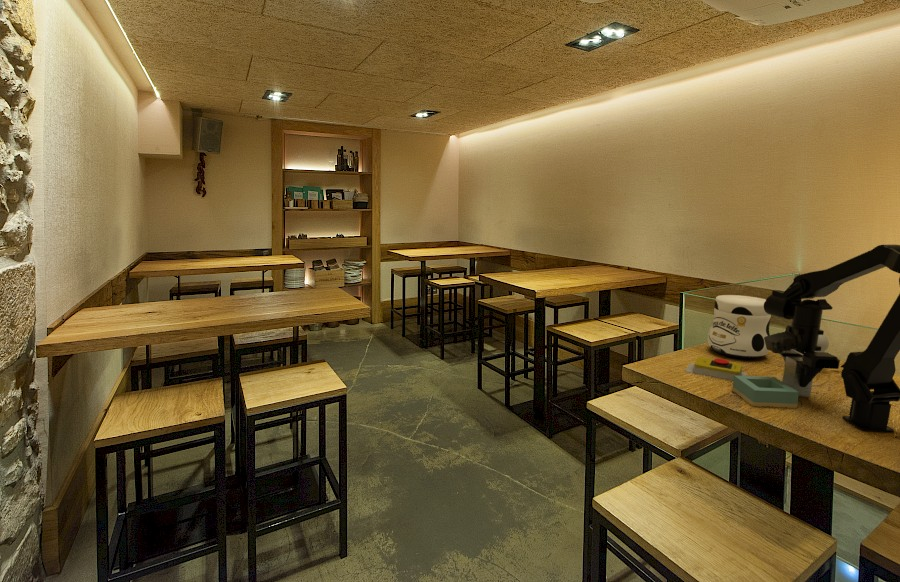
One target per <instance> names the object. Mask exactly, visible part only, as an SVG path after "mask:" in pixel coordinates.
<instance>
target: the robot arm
mask: <svg viewBox="0 0 900 582" xmlns="http://www.w3.org/2000/svg"><path fill="white" fill-rule="evenodd" d="M883 268H888V270H890V271H892V272H895V273H897V274H900V244H878V245H877V246H875V247H873V248H872V249H870V250H868V251H866V252H863V253H861V254H859V255H856V256H854V257H851V258H850V259H847V260H845V261H843V262H840V263H838V264H835V265H833V266H831V267H829V268H825V269H822V270H821V269H820V270H816V271H815V270H814V271H810V272H806V273H801V274H798V275H796V276H795V277H793V282H791V284H790V285H789V286H788V287H787V289H785V291H784V290H779V289H778V290H777V289H775V290H774V289H773V290H772V292H771V294H770V295H769V296H768V297H767V298H766V301H765V302H764V310H765V312H766V313H767V314H770V315H771V316H774V317H778V318H781V319H786V320H791V325H789V324H787V326H786V327H785V331H782V332H776V333H773V334H770V335H769V336H766V337H764V340H765V344H766V348H767V350H769V351H771V352H772V353H773V354H779V355H780V357H782V358H783V360H784V361H783V362H785V360H786V356H794V357H803V359H802V360H803V361H796V362H797V364H798V365H799V366H800V386H801V387H806V386H807V385H808V384H809V383H810V382H811V380H812V379H813V380H814V378H815V377H816V376H817V375H818V374H819V373H820V372H821V371H822V370H823V369H827V370H828V369H831V370H832V369H833V370H834V369H835V370H838V369H840V368H842V369H841V372H840V376H841V378H842V381H843V385H844V387H843V388H844V390H845V396H846V397H848V398H850V399H851V403H850V409H849V415H842V417H841V418H842V419H843V420H844V421H847V422H848V423H850V424H851V425H853V426H854V427H856V428H858V429H860V430H861V431H864V432H880V433H882V432H883V433H884V432H885V433H894V432H895V429H893V427H890V426H888V425H889V424H888V423H889V419H890V414H891V409H892V404H891V403H892V402H895V403H896V402H900V387H899V385H898V384H897V382H896V381H895V380H894V376H895V372H896V370H897V369H896V364H895V362H896V361H895V359H896V357H897V355H898V354H899V352H900V292H899V293H898V296H897V297H896V298H895V300H894V302H893V304H892V305H891V308H890V309H889V311H888V312H887V313H886V315H885V317H884V319H883V321H882V322H881V324H880V326H879V327H878V328H877V330H876V332H875V334H874V336H873V338H872V339H871V340H870V342H869V344H868V345H867V347H866V348H865V349H864V350H863V351H853V352H849V353H848V354H847V357H846V360H845V361H844V363H843V364H841V363H840V362H841V360H840V359H839V358H838V357H837V356H835V355H833V354H831V353H829V352H826V351H825V352H815V351H821V347H820V346H818V345H817V343H818V337H819V335H824V332H825V330H822V329H821V324H822V317H823V311H829V310H830V311H831V310H833V306H832V305H831V304H830V303H829V302H828V301H827V299H825V297H827V296H829V295H830V294H833V293H834V292H836V291H837V290H838V289H839V288H840V287H841V286H842V285H844V284H845V283H849V282H850V281H852V280H855V279H857V278H860V277H863V276H865V275H868V274H871V273H874V272H876V271H878V270H881V269H883ZM898 284H899V286H900V276H899V278H898ZM815 298H819V299H816V300H815ZM820 298H821V299H820ZM813 299H814V300H813ZM840 364H841V365H840Z"/></svg>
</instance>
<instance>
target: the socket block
mask: <svg viewBox="0 0 900 582" xmlns="http://www.w3.org/2000/svg"><path fill="white" fill-rule="evenodd" d="M782 381H783V380H782ZM782 381H781V380H780V379H779V378H777V377H776V376H759V375H758V376H757V375H756V376H754V375H747V376H735V375H734V380H733V381H732V388H731V389H732V391H733V392H734V393H735V394H736V395H738V396H741V398H742V399H743V400H745V401H746V402H747V403H748V404H749V403H750V405H751V406H752V407H762V406H770V407H769V408H785V407H787V408H788V409H790V408H791V409H792V408H793V409H797V408H798V402H799V401H798V400H799V397H800V396H799V392H798V391H796V390H795V389H793V388H792V387H790V386H788V385H787V384H785V383H783V382H782ZM772 406H773V407H772ZM787 408H786V409H787Z"/></svg>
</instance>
